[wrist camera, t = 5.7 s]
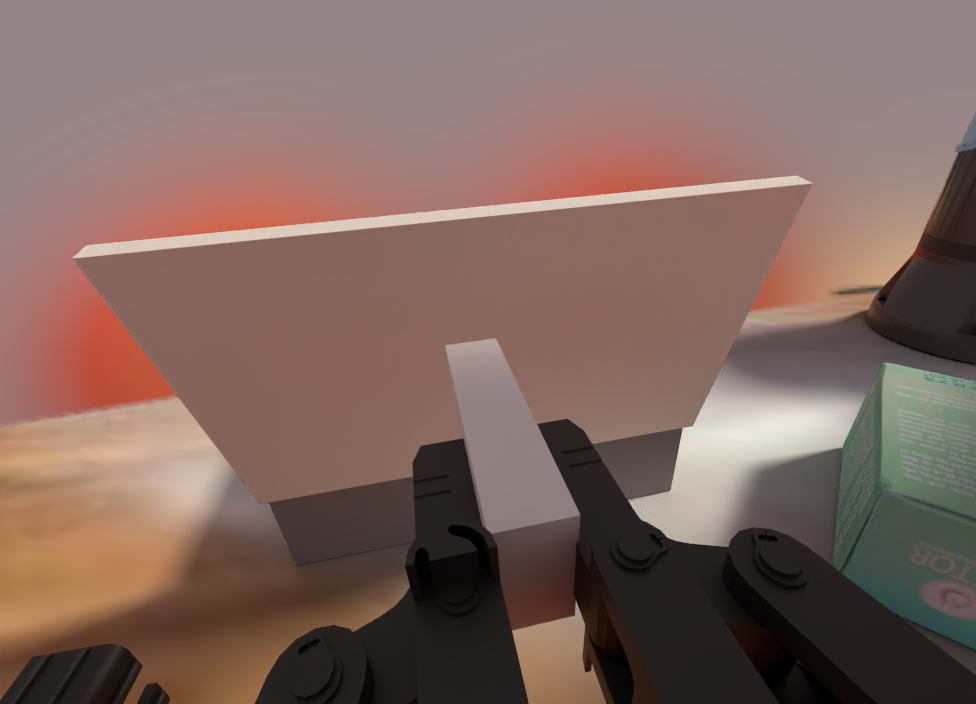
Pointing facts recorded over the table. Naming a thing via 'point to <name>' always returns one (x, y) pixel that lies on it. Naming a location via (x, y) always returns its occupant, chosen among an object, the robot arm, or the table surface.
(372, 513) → the grey tray
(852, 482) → the box
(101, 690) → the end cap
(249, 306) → the cover
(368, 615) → the table surface
